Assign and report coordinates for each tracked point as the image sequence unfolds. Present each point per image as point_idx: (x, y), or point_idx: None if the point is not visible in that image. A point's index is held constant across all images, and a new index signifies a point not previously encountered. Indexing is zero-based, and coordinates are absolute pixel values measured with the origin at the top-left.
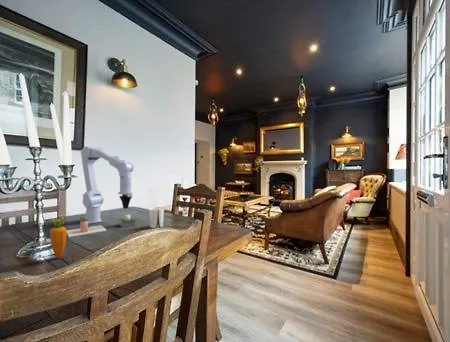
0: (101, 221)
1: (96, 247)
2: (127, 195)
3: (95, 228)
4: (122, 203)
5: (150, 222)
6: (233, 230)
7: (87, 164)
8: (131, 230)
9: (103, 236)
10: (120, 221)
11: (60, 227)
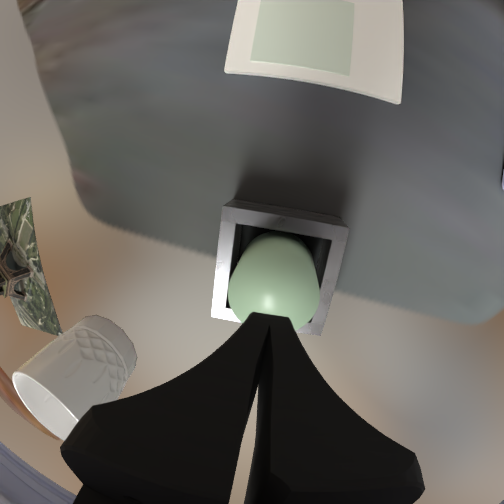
0: (502, 181)
1: (33, 22)
2: (26, 481)
3: (320, 29)
4: (287, 358)
5: (80, 330)
6: (10, 397)
7: None
8: (113, 211)
9: (120, 39)
10: (271, 212)
11: None
